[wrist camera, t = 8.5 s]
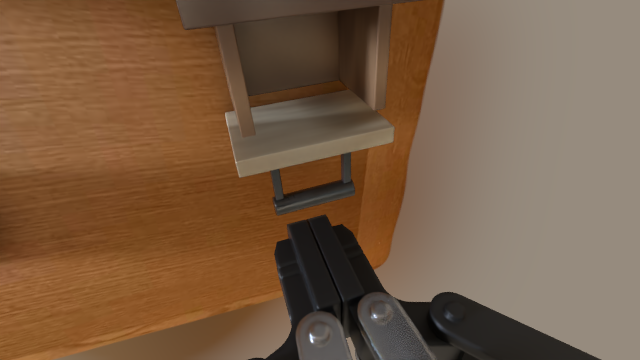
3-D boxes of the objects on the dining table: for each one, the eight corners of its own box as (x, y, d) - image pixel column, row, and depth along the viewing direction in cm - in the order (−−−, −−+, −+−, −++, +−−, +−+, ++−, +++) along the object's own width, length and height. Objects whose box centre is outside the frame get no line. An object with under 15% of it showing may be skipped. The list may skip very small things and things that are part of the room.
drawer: (351, 159, 30) (387, 206, 25) (243, 185, 28) (256, 243, 23) (352, -112, 19) (421, -138, 13) (168, -106, 16) (157, -133, 11)
